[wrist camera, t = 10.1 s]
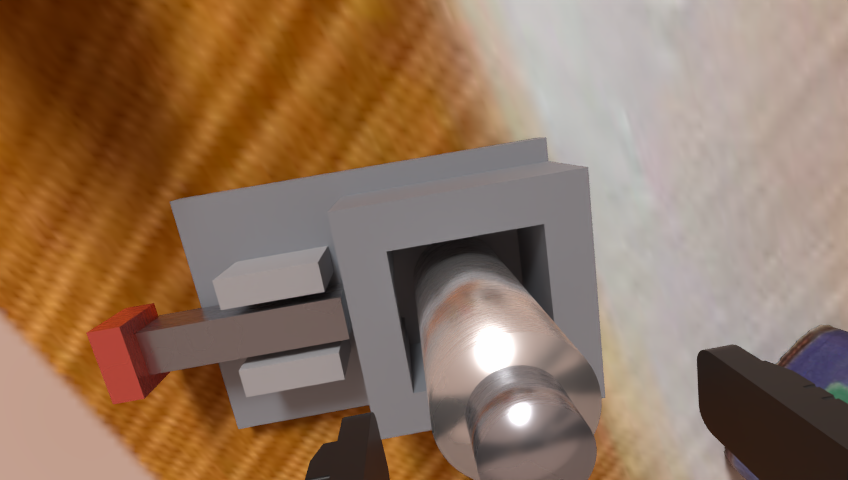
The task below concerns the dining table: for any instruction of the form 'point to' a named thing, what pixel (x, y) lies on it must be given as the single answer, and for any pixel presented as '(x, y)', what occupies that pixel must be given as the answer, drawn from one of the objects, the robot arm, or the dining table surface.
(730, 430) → the robot arm
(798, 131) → the dining table surface
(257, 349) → the lock pin
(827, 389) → the flask
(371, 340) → the mount
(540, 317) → the salt shaker
